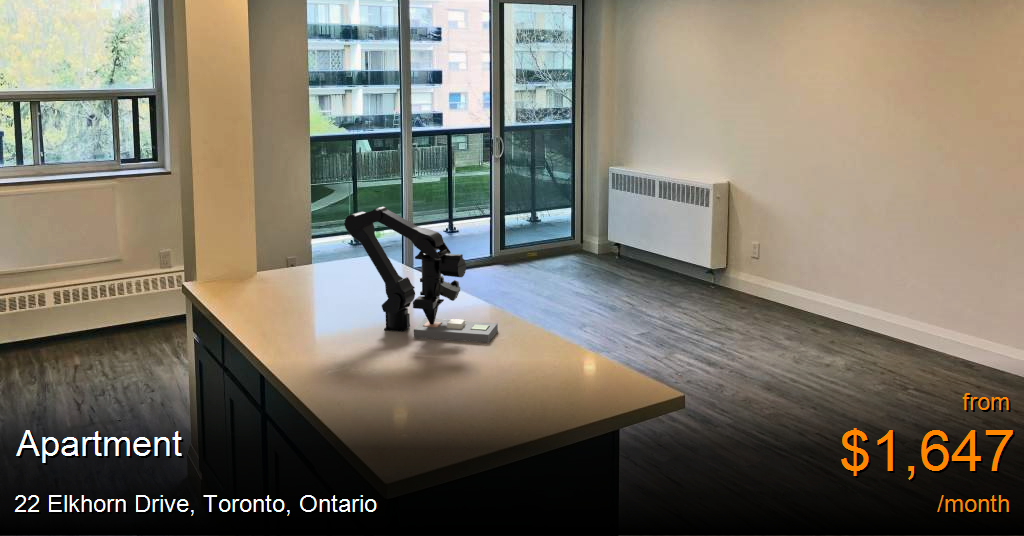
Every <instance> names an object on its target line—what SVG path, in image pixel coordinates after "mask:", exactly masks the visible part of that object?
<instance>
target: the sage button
mask: <svg viewBox="0 0 1024 536" xmlns="http://www.w3.org/2000/svg"><path fill="white" fill-rule="evenodd" d="M488 328H489V325H474V326H473V327H472V328H471V330H481V331H487V329H488Z"/></svg>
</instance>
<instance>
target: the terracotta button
mask: <svg viewBox="0 0 1024 536" xmlns="http://www.w3.org/2000/svg"><path fill="white" fill-rule="evenodd" d="M440 325H441V322H434V324H430V323H429V321H427V322H426V323H425V324H424V325H423V327H439V326H440Z"/></svg>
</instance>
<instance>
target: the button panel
mask: <svg viewBox="0 0 1024 536" xmlns="http://www.w3.org/2000/svg"><path fill="white" fill-rule="evenodd" d="M450 320H451V319H444V318H440V319H439V318H435V322H441V325H440V326H439V327H423V325H424V324H425V323H426V322H427V321H428V319H427V317H426V318H424V319H423V320H422V321H420V323H419V324H417V326H415V328H413V338H415V339H416V338H419V339H431V340H445V341H459V342H460V341H461V342H472V343H473V342H475V343H484V344H489V343H490V342H491V340H492V339H493V337H495V335H496V333H497V332H498V331H499V329H498V325H499V324H498V322H485V321H484V322H483V321H472V320H465V326H464V327H463V329H452V328H447V323H448V322H449V321H450ZM474 325H489V328H488V329H487V331H481V330H471V328H472V327H473V326H474Z"/></svg>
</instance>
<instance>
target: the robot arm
mask: <svg viewBox="0 0 1024 536" xmlns="http://www.w3.org/2000/svg"><path fill="white" fill-rule="evenodd" d="M377 222H378V223H380V224H382V225H383V226H385V227H386V228H389V229H391V230H392V231H394V232H396V233H398V234H399V235H400V236H403V237H404V238H406V239H408V240H409V241H411V242H412V245H413V246H414V247H415V248H416V249H417V250H419V253H418V254H417V255H416V256H414V259H415V260H421V277H420V278H419V282H420V283H421V291H420V294H419V296H418V297H417V298H415V296H416V292H415V286H414V285H413V283H411V281H410V278H409V277H408V276H406V277H402V276H401V275H399V274H398V272H397V270H396V268H395V267H394V265H393V263H392V262H391V260H390V258H389V257H388V255H387V253H386V252H385V250H384V248H383V246H382V245H381V244H380V242H379V240H378V238H377V237H376V234H375V233H376V231H375V225H374V223H377ZM343 225H344V228H345V230H346V231H347V232H348V233H349V235H350V236H351V238H353V239H354V240H356V241H358V242H359V243H360V244H361V246H362V247H363V249H364V250H365V252H366V254H367V255H368V257H369V259H370V262H372V264H373V266H374V267H375V269H376V271H377V272H378V274H379V275H380V277H381V279H382V281H383V282H384V286H385V294H386V297H387V299H386V300H385V301H384V302H383V303H382V304H381V309H382V312H384V313H385V327H384V328H383V331H388V332H390V331H391V332H402V333H403V332H405V331H407V329H409V328H410V327H411V323H410V322H411V320H410V317H411V316H410V313H409V309H408V308H409V307H410V306H411V303H412V308H413V309H418V310H422V311H423V313H424V315H425V317H426V318H427V319H428V321H429V323H430V324H434V322H435V319H437V318H436V317H437V313H438V309H439V306H440V305H441V304H442V303H443V302H444V301H445V299H443V298H442V299H441V298H440V296H442V297H444V298H446V299H448V300H449V301H455V300H456V299H458V297H459V294H460V292H461V286H460V282H459V281H458V280H457V279H453V281H451V282H450V281H448V282H446V281H445V277H454V278H463V277H464V276H465V273H466V270H467V264H466V260H465V259H464V258H463V254H462V253H458V254H457V253H456V254H455V253H451V251H450V249H449V247H448V246H447V244H446V243H445V242H444V239H443V235H442V233H440V232H439V231H436V230H433V229H431V228H425V227H420V226H418V225H416V224H414V223H413V222H410V221H409V220H407V219H405V218H404V217H402V216H399V215H398V214H397V213H395V212H393V211H391V210H389V209H388V208H387V207H385V206H380V207H376V208H374V209H373V210H369V211H367V212H366V211H358V212H355V213H352V214H349V215H348V216H347V217H345V219H344V223H343ZM444 276H445V277H444Z"/></svg>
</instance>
